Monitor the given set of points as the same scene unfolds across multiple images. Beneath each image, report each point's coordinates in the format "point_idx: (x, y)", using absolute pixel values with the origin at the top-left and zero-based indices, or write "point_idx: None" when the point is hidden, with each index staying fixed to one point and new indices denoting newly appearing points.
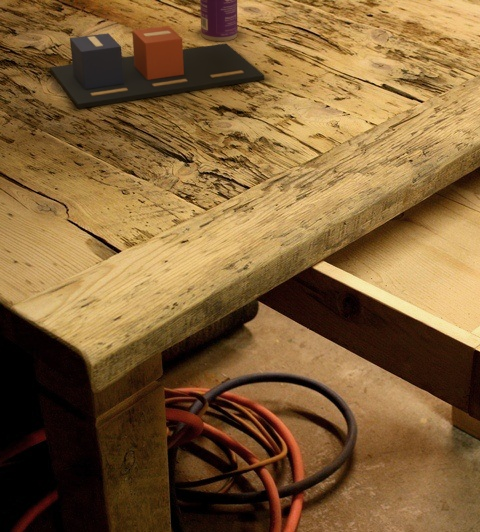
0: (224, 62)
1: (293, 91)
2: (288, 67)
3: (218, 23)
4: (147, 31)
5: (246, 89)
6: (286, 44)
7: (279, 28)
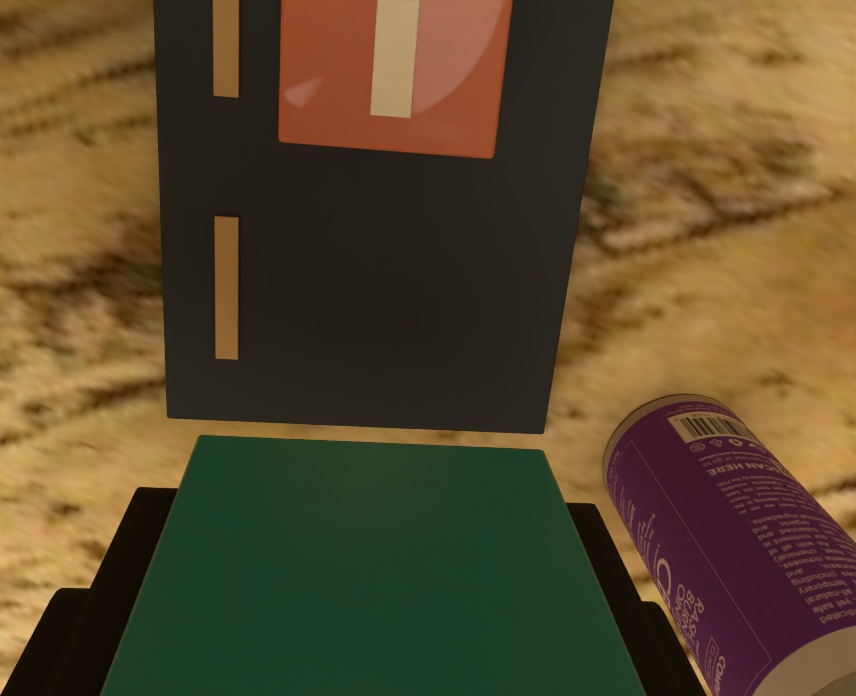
0: (355, 338)
1: (25, 454)
2: None
3: (639, 468)
4: (461, 2)
5: (103, 306)
6: None
7: None
